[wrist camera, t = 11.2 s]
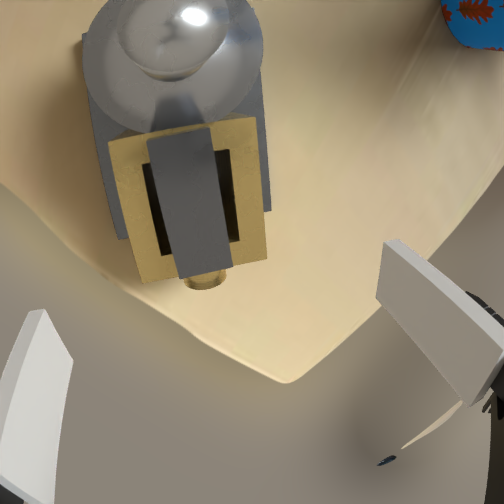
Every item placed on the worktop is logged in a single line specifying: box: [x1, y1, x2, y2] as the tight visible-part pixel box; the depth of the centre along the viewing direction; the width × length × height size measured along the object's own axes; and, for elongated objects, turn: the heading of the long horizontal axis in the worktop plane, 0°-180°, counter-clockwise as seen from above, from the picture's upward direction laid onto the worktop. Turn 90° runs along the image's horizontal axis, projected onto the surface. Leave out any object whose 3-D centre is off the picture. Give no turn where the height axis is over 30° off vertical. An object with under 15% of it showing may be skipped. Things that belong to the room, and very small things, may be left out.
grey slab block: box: [146, 126, 233, 279], centre depth 25 cm, size 10×4×10 cm, turn 8°
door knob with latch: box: [82, 0, 272, 290], centre depth 21 cm, size 26×16×18 cm, turn 5°
